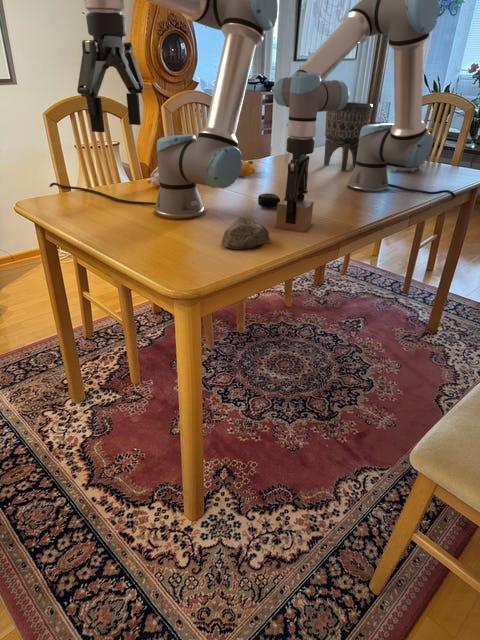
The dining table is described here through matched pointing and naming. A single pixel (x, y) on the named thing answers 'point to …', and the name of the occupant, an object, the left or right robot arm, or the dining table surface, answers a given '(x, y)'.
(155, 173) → the figurine
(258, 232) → the rock
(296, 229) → the block
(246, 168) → the toy
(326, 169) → the dining table surface
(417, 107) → the right robot arm
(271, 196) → the tape measure
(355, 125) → the planter
